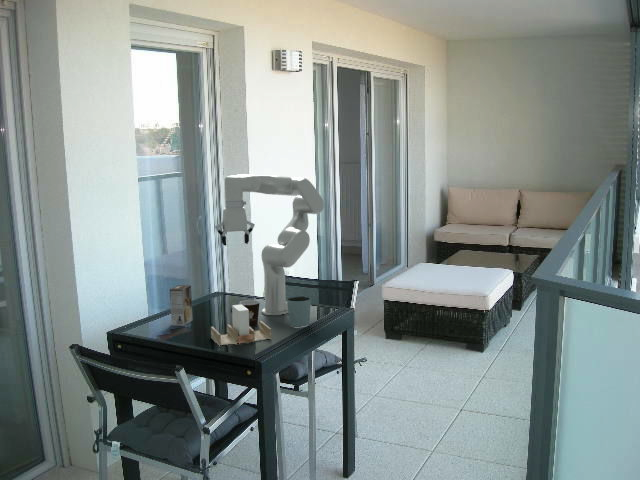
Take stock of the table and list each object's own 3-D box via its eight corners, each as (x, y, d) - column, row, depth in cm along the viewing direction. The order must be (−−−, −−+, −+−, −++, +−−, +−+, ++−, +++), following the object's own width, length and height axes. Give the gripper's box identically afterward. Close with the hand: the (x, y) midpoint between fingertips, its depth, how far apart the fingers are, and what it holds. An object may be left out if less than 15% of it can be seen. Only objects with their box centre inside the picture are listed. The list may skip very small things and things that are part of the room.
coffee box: (179, 320, 307) (177, 284, 305) (193, 320, 306) (191, 285, 303) (171, 325, 298) (169, 289, 296) (184, 326, 297) (183, 289, 295)
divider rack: (261, 331, 287) (261, 320, 286) (271, 340, 275) (271, 328, 274) (211, 337, 279) (210, 326, 279) (219, 346, 267) (219, 335, 266)
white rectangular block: (242, 332, 282) (241, 304, 281) (249, 339, 273) (248, 309, 272) (232, 334, 281) (232, 305, 279) (239, 340, 272) (238, 310, 270)
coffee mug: (263, 323, 300) (262, 300, 298) (255, 328, 292) (254, 305, 290) (239, 321, 303) (238, 299, 302) (230, 326, 295) (229, 303, 294)
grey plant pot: (315, 324, 297) (314, 296, 296) (304, 330, 288) (304, 302, 286) (294, 321, 302) (293, 294, 300) (283, 327, 293) (282, 300, 291)
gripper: (251, 203, 302) (252, 241, 305) (212, 205, 296) (213, 244, 298) (256, 204, 295) (257, 244, 298) (216, 206, 289) (218, 247, 291)
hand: (235, 244), depth 298 cm, fingers open, 9 cm apart
